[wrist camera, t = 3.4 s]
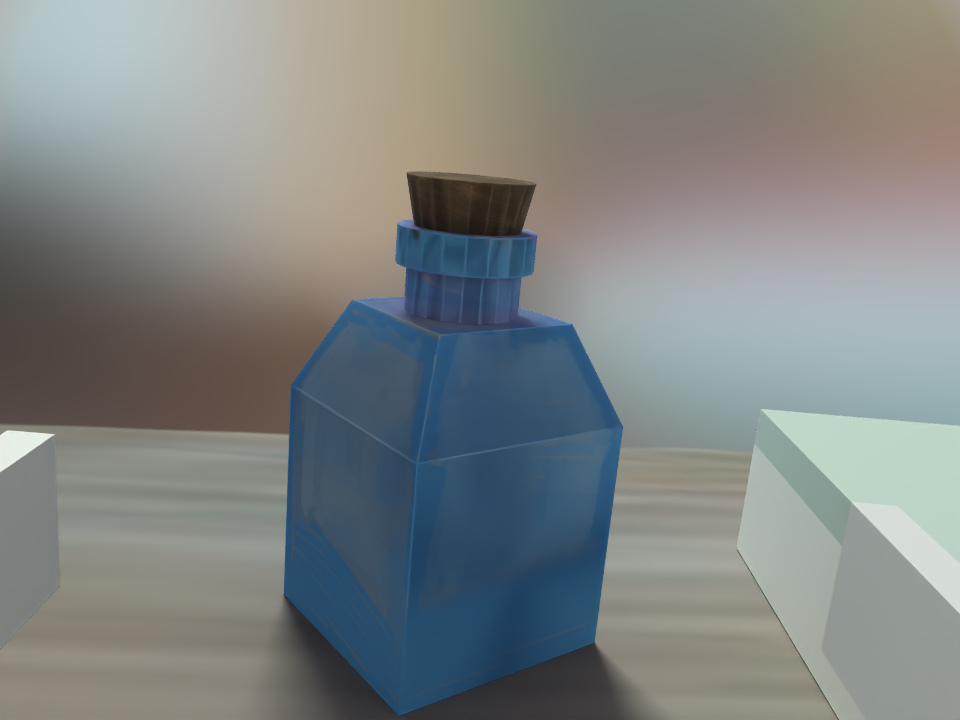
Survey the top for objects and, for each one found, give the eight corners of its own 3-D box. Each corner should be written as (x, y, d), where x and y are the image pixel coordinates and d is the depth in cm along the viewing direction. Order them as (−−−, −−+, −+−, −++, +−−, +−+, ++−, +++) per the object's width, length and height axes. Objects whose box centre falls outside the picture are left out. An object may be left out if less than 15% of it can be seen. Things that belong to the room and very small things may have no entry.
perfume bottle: (594, 643, 24) (653, 195, 21) (398, 716, 21) (436, 187, 18) (462, 549, 29) (495, 172, 26) (283, 594, 25) (298, 161, 22)
